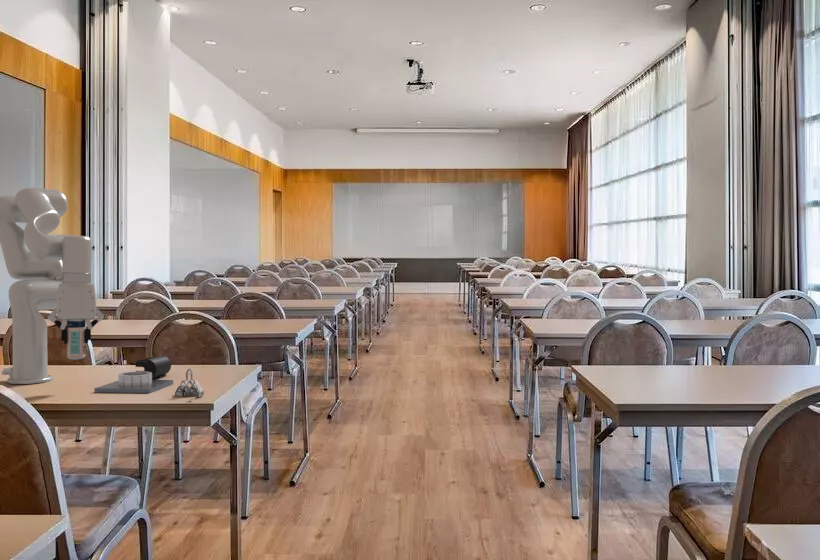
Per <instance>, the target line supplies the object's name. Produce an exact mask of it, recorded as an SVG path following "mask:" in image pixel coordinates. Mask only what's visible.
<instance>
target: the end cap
mask: <svg viewBox="0 0 820 560" xmlns="http://www.w3.org/2000/svg"><path fill="white" fill-rule="evenodd" d="M135 368H143V371H146V372H151V373H152V379H153V380H156V379H158V378H161V377H163V375H164V376H166V375H167V374H168V373H169V372H170V371H171V368H172V363H171V360H170V359H169V358H168V357H167V356H165V355H160V356H156V357H151V356H150V357H146V358H145V359H138V360H136V361H135ZM137 371H138V370H135V372H137ZM160 376H161V377H160Z"/></svg>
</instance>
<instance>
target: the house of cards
mask: <svg viewBox="0 0 820 560" xmlns="http://www.w3.org/2000/svg"><path fill="white" fill-rule="evenodd" d="M189 375H190V379H189ZM193 376H194V372H193V370H192V369H191V367H190V368H188V369H187V370H186V371H185V379H182V380H181V382H180V384H179V386H178V387H177V389H175V391H174V396H175V397H176V396H179V397H187V398H189V397H191V396H192V397H196V398H200V397H203V396H205V390H204V389H203V387H202V385H201V384H199V382H198V380H197V379H193V378H194V377H193ZM195 383H196V384H195ZM189 384H190V385H189ZM193 400H194V399H193V398H191V399H190V401H193Z"/></svg>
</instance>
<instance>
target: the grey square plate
mask: <svg viewBox="0 0 820 560" xmlns="http://www.w3.org/2000/svg"><path fill="white" fill-rule="evenodd" d="M136 371H137V372H136ZM136 371H126V372H121V373H118V377H117V378H118V379H117V380H116V381H113V382H110V383H106V384H104V385H100V386H98V387H97V386H96V387H94V391H93V392H94V393H98V394H99V393H106V394H107V393H108V394H109V393H110V394H111V393H113V394H115V393H116V394H151V393H154V392H157V391H159V390H162V389H164V388H168V387H169V386H172V385H174V380H173V379H153V380H152V373H151V372H146V371H144V370H136ZM171 384H172V385H171Z"/></svg>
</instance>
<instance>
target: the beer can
mask: <svg viewBox="0 0 820 560" xmlns="http://www.w3.org/2000/svg"><path fill="white" fill-rule="evenodd" d="M66 329H67V344H66V358H67V359H69V360H83V359H85V357H86V343H85V329H86V321H85V319H72V320H67V324H66Z"/></svg>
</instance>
